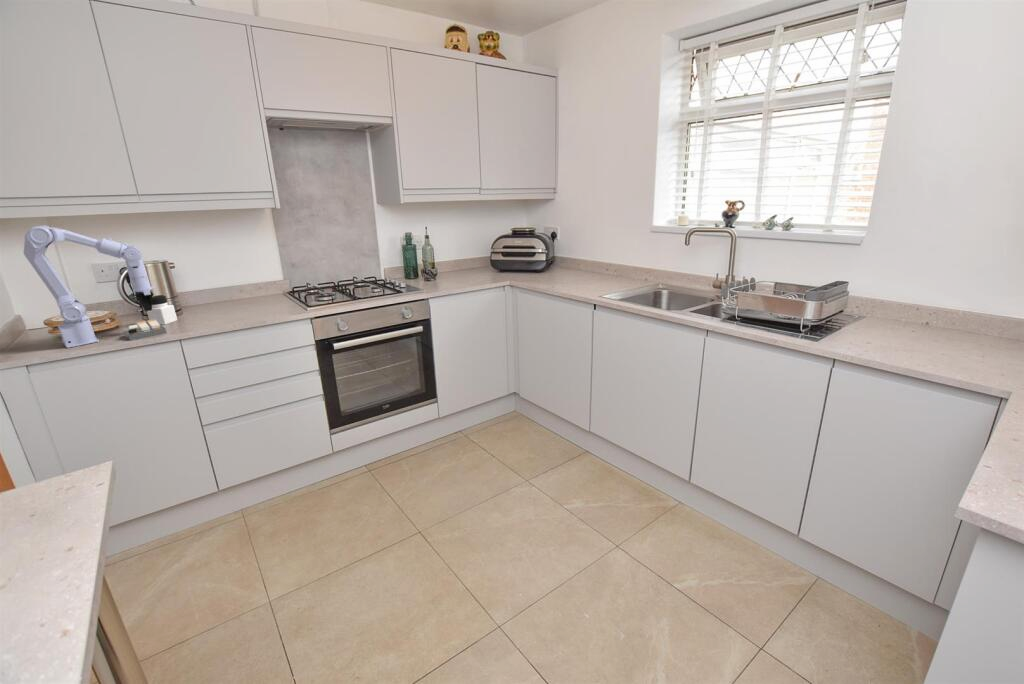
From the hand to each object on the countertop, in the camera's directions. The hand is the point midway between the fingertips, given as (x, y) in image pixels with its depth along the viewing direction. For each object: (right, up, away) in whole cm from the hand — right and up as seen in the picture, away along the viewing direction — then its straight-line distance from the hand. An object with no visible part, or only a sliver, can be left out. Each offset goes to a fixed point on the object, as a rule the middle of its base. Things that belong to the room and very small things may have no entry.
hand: (148, 310), depth 190 cm
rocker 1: (-3, -7, -5) cm, 9 cm away
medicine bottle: (-6, -4, +16) cm, 18 cm away
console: (0, -10, -1) cm, 10 cm away
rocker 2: (0, -6, -3) cm, 7 cm away
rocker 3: (+2, -5, 0) cm, 6 cm away
